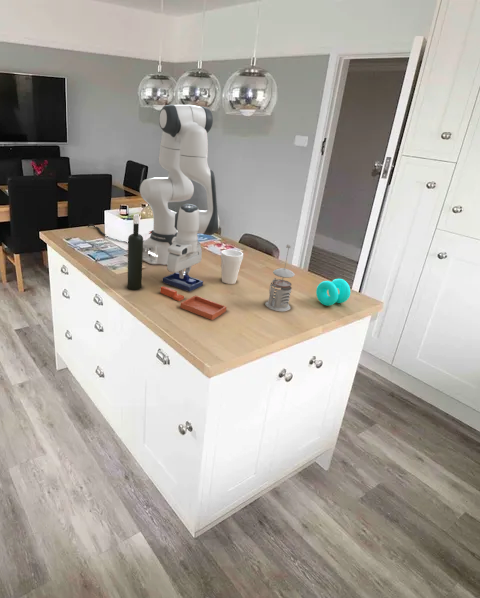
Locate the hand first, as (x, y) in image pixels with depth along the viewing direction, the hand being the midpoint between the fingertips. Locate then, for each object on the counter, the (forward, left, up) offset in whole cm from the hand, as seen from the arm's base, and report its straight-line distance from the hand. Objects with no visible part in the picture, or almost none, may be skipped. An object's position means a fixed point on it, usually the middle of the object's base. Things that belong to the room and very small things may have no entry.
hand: (184, 277), depth 175 cm
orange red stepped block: (+4, -14, -3) cm, 15 cm away
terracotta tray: (+20, -15, -3) cm, 25 cm away
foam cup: (+12, +17, -3) cm, 21 cm away
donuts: (+54, +27, -3) cm, 61 cm away
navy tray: (0, 0, -3) cm, 3 cm away
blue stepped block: (0, 0, -2) cm, 2 cm away
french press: (+39, +8, -3) cm, 40 cm away
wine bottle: (-12, -18, -3) cm, 22 cm away
